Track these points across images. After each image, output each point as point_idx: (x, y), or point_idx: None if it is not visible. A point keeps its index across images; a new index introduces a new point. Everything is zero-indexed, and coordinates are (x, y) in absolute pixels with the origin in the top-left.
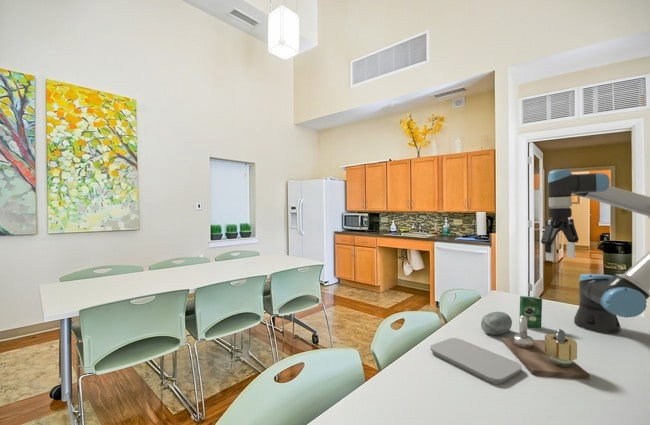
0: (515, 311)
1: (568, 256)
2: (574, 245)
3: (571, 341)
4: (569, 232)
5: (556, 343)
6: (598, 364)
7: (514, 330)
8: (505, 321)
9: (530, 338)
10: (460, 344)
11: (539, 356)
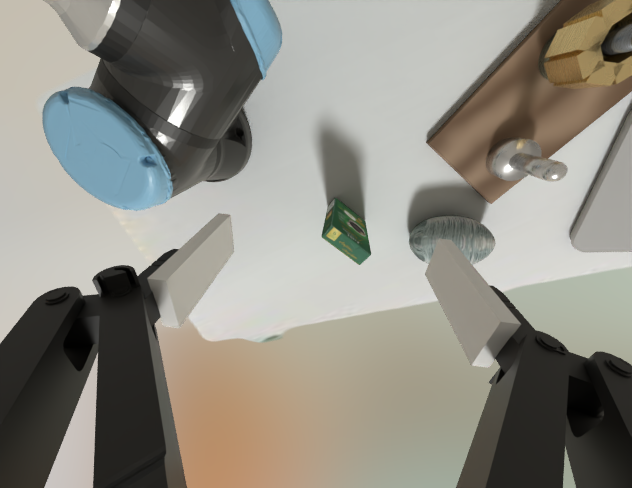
0: (283, 270)
1: (229, 246)
2: (171, 262)
3: (629, 5)
4: (151, 416)
5: None
6: (462, 12)
7: (399, 218)
8: (458, 227)
9: (513, 148)
10: (606, 225)
11: (553, 103)
